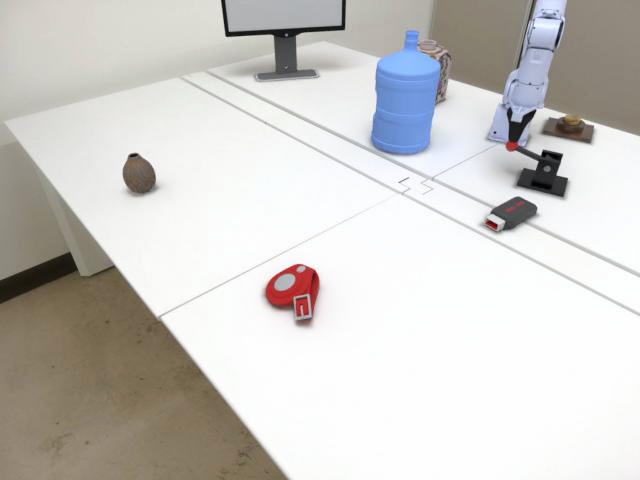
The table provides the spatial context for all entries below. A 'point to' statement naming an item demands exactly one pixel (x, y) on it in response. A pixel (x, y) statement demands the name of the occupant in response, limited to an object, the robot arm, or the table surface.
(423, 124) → the water jug
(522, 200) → the usb drive
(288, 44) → the computer monitor
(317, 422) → the table surface
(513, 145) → the lever
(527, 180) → the bracket
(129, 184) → the vase
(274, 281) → the tracker holder
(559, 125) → the button block
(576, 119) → the button
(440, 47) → the decorative jar
